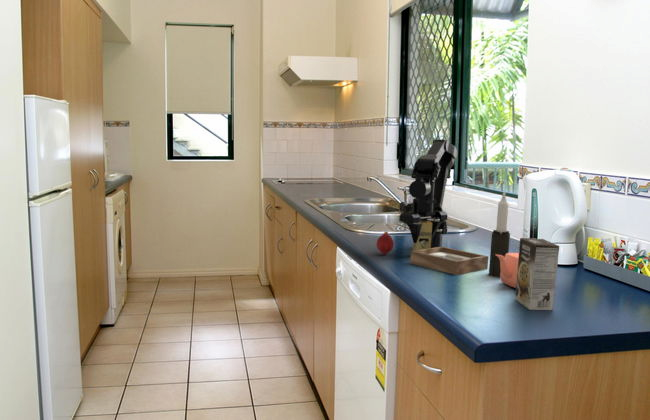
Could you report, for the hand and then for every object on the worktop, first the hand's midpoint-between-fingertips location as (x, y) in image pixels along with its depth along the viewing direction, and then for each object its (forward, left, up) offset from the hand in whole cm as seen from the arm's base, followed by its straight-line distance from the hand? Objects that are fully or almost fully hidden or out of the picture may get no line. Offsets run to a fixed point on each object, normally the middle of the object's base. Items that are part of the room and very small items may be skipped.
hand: (422, 241), depth 207 cm
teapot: (+8, +43, -5) cm, 44 cm away
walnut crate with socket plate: (+4, +15, -5) cm, 16 cm away
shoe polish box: (0, 0, -5) cm, 5 cm away
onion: (+9, -8, -5) cm, 13 cm away
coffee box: (+22, +55, -5) cm, 59 cm away
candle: (+1, +31, -5) cm, 31 cm away
